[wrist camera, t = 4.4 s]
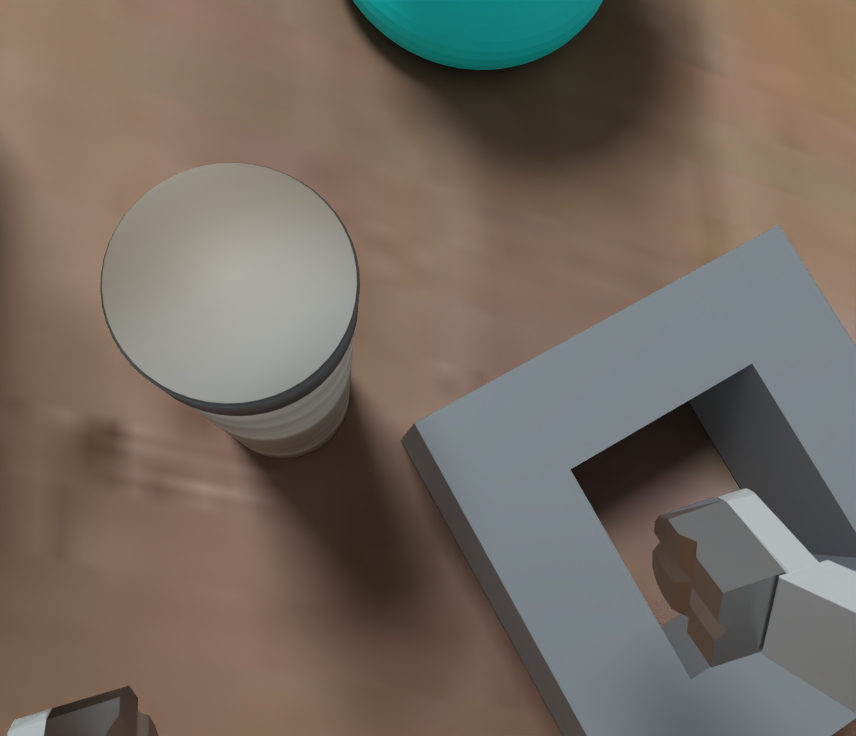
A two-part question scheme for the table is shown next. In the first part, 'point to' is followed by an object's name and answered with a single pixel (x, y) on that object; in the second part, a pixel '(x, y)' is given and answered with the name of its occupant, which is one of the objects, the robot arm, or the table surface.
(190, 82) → the table surface
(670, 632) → the socket
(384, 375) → the table surface
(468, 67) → the donuts
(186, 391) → the peg
